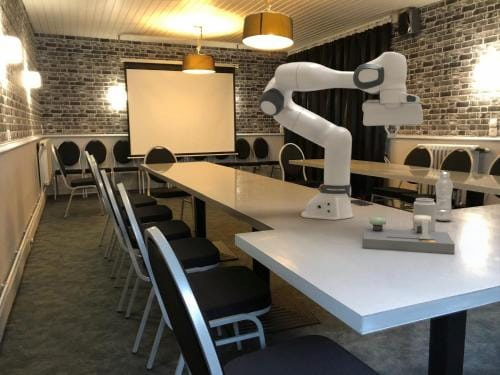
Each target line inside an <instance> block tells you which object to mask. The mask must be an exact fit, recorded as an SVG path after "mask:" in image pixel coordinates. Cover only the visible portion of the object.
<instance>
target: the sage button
mask: <svg viewBox="0 0 500 375" xmlns="http://www.w3.org/2000/svg"><path fill="white" fill-rule="evenodd" d="M386 222H387V218H386V217H383V216H371V217H369V224H371V225H373V224H374V225H383V226H384V225H386V224H387V223H386Z"/></svg>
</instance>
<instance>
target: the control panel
mask: <svg viewBox="0 0 500 375" xmlns="http://www.w3.org/2000/svg"><path fill="white" fill-rule="evenodd" d="M383 226H384V225H374V224H372V227H365V230H364V234H363V240H362V241H363V242H362V243H363V244H362V245H363V246H362V247H363V249H371V250H372V249H373V250H388V251H403V252H418V253H432V254H433V253H434V254H450V255H455V246H456V244H455V243H454V240H453V239H452V237H451V236H450V234H449V233H448V231H435V230H434V231H428V234H430V236H431V239H419V234H422V226H417V231H415V230H414V229H412V230H410V229H393V228H391V229H390V228H383Z"/></svg>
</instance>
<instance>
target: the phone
mask: <svg viewBox="0 0 500 375" xmlns="http://www.w3.org/2000/svg"><path fill="white" fill-rule="evenodd" d="M350 203H351V204H352V203H353V204H352V205H355V206H359V207H370V206H369V205H373V206H374V203H372V202H370V201H366V200H363V199H350Z"/></svg>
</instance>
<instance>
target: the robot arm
mask: <svg viewBox="0 0 500 375" xmlns="http://www.w3.org/2000/svg"><path fill="white" fill-rule="evenodd" d="M407 65H408V63H407V59H406V56H405V55H404V54H403V53H401V52H398V51H392V50H391V51H384V52H383V53H381V54H380V55H379V56H378V57H377V58H375V59H373V60H371V61H368V62H366V63H362V64H359V65H358V66H357V68H356V69H355V70H354V71H341V70H336V69H332V68H329V67H326V66H325V65H322V64H321V63H320V64H319V63H316V62H310V61H309V62H308V61H298V62H297V61H296V62H288V63H284V64H280V65H279V66H278V67H277V68H276V69H275V72H274V75H273V76H272V77H271V79H270V80H269V82H268V83H267V85H266V86H265V88H264V90H263V92H262V94H261V95H260V97H259V99H258V107H259V109H260V111H261V112H262V113H263V114H265V115H266V116H270V117H273V119H274V121H276V122H277V123H279V124H280V125H281V126H282V127H284V128H285V129H287V130H289V131H291V132H293V133H295V134H297V135H299V136H301V137H303V138H304V139H307V140H308V141H311V142H312V143H313V144H317V145H318V146H320V147H322V148H324V164H323V168H324V169H323V170H324V171H323V183H321V184H320V185H319V187H318V188H319V189H318V191H319V193H317V194H316V195H315V196H313V197H311V199H310V200H309V201H308V202H307V204H306V208H305V210H304V211H302V212H301V213H300V214H301V217H302V218H306V219H307V218H308V219H319V220H320V219H321V220H330V221H331V220H333V221H335V220H336V221H337V220H338V221H339V220H344V219H350V218H353V217H354V214H353V210H352V203H350V200H351V196H352V185H351V182H350V180H351V161H352V160H351V159H352V143H353V142H352V141H353V138H352V135H351V132H350V131H349V130H348V129H347V128H346V127H343V126H338V125H336V124H334V123H332V122H331V121H328V120H327V119H325V118H324V117H321V116H320V115H318V114H316V113H315V112H312V111H310V110H308V109H306V108H305V107H302V106H301V105H298V104H296V103H295V102H294V101H293V97H295V92H312V91H320V90H327V89H328V90H329V89H335V88H337V89H357V90H358V89H359V90H361V91H362V92H363V91H364V92H365V93H368V94H371V95H378V94H379V99H367V100H365V101H364V102H363V103H362V105H361V107H362V108H361V109H362V112H363V120H362V124H363V125H364V126H366V127H371V126H372V127H373V126H374V127H375V126H376V127H377V126H384V130H385V131H386V133H387V139H397V133H398V132H399V130H400V128H401V126H413V125H415V126H417V125H419V126H420V125H422V124H423V122H424V113H423V112H424V111H423V107H422V104H420V103H419V102H420V100H421V99H420V97H419V96H418V95H414V94H412V93H407V86H406V82H407V79H408V78H407V77H408V74H407V73H408V66H407ZM390 126H395V129H396V130H395V131H394V132H393V133H392V132H390V131H389V129H390Z"/></svg>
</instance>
